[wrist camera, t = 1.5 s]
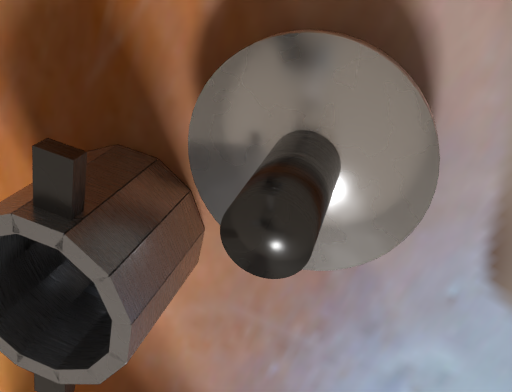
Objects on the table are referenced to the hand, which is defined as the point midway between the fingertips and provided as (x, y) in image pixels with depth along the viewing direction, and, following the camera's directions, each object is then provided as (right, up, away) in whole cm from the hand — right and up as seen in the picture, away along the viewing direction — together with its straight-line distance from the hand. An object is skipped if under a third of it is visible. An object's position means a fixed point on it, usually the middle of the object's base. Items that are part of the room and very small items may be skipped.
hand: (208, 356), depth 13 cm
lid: (+4, +7, +13) cm, 16 cm away
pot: (-7, +3, +19) cm, 20 cm away
